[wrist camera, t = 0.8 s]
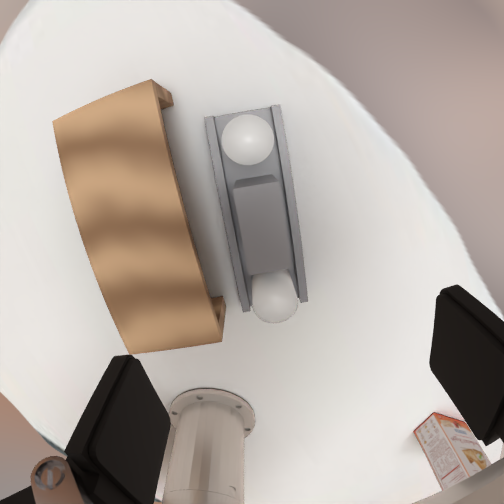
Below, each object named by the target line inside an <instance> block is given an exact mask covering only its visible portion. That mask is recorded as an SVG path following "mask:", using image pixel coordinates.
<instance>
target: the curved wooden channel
mask: <svg viewBox="0 0 504 504" xmlns="http://www.w3.org/2000/svg"><path fill="white" fill-rule="evenodd" d="M170 106H174V104H173V99H172V95H171V93H170V92H169V91H167V90H166V89H165V88H163V87H162V86H160V85H159V84H157V83H156V82H155V81H153V80H152V79H150V80H147V81H144V82H141V83H139V84H136V85H133V86H131V87H128V88H125V89H123V90H120V91H118V92H115V93H113V94H110V95H108V96H105V97H103V98H101V99H98V100H96V101H94V102H91V103H89V104H87V105H85V106H83V107H80V108H78V109H76V110H74V111H72V112H70V113H68V114H66V115H64V116H62V117H60V118H58V119H56V120H54V121H52V122H53V127H54V133H55V138H56V143H57V148H58V153H59V158H60V162H61V166H62V171H63V175H64V179H65V183H66V187H67V190H68V194H69V198H70V201H71V205H72V208H73V212H74V215H75V219H76V222H77V225H78V228H79V231H80V235H81V238H82V241H83V244H84V247H85V249H86V252H87V255H88V258H89V261H90V264H91V266H92V269H93V272H94V274H95V277H96V280H97V282H98V285H99V287H100V290H101V292H102V295H103V297H104V300H105V302H106V304H107V307H108V309H109V311H110V314H111V316H112V318H113V320H114V323H115V325H116V327H117V329H118V331H119V334H120V336H121V338H122V340H123V342H124V344H125V346H126V348H127V350H128V352H129V354H139V353H147V352H155V351H163V350H171V349H178V348H185V347H192V346H198V345H205V344H211V343H217V342H222V337H223V328H224V320H225V311H226V305H225V301H224V298H223V296H220V297H215V298H210V295H209V291H208V288H207V285H206V281H205V278H204V275H203V271H202V268H201V265H200V261H199V258H198V254H197V251H196V247H195V244H194V240H193V237H192V233H191V229H190V226H189V222H188V219H187V215H186V211H185V207H184V204H183V200H182V196H181V192H180V188H179V185H178V181H177V177H176V173H175V169H174V165H173V161H172V157H171V152H170V148H169V144H168V140H167V136H166V131H165V127H164V123H163V118H162V114H161V109H164V108H167V107H170Z"/></svg>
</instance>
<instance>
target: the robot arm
mask: <svg viewBox="0 0 504 504" xmlns="http://www.w3.org/2000/svg"><path fill="white" fill-rule="evenodd" d="M429 363H430V368H431V371H432V372H433V374H434V375H435V377H436V378H437V379H438V381H439V382H440V384H441V385H442V387H443V388H444V390H445V391H446V392H447V394H448V395H449V397H450V398H451V400H452V401H453V403H454V404H455V406H456V407H457V409H458V410H459V412H460V413H461V415H462V416H463V418H464V420H465V421H466V423H467V424H468V426H469V427H470V429H471V430H472V432H473V434H474V435H475V437H476V438H477V439H478V440H482V441H483V442H484V444H485V446H487V445H489V444H491V443H492V442H494V441H496V440H497V439H499V438H501V440H502V441H503V446H502V451H501V456H500V460H498V461H497V462H495V463H493V464H492V465H490V466H488V467H487V468H485V469H483V470H481V471H480V472H478V473H476V474H474V475H473V476H471V477H469V478H467V479H465V480H463V481H461V482H459V483H457V484H455V485H453V486H451V487H449V488H447V489H445V490H443V491H441V492H438V493H436V494H434V495H432V496H429V497H427V498H425V499H422V500H420V501H417V502H415V503H412V504H504V321H502V320H501V319H500V318H499V317H498V316H497V315H495V314H494V313H493V312H492V311H491V310H489V309H488V308H487V307H486V306H485V305H483V304H482V303H481V302H480V301H478V300H477V299H476V298H475V297H473V296H472V295H471V294H470V293H468V292H467V291H466V290H465V289H463V288H462V287H461V286H459V285H454V286H451V287H447V288H444V289H442V290H441V292H440V295H438V296H437V298H436V308H435V320H434V330H433V338H432V346H431V354H430V361H429ZM171 423H172V425H173V427H174V428H175V429H176V434H175V439H174V444H173V449H172V453H171V458H170V463H169V468H168V473H167V479H166V484H165V490H164V494H163V500H162V504H244V438H246V437H247V436H248V435H249V434H250V433H251V432H252V430H253V428H254V425H255V415H254V412H253V410H252V408H251V407H250V405H249V404H248V403H246V402H245V401H244V400H243V399H241V398H240V397H238V396H236V395H234V394H231V393H228V392H225V391H221V390H215V389H197V390H192V391H188V392H186V393H183V394H181V395H180V396H178V397H177V398H176V399H175V400H174V401H173V403H172V405H171V407H170V411H169V414H168V413H167V411H166V409H165V407H164V406H163V404H162V402H161V400H160V399H159V397H158V395H157V393H156V391H155V389H154V388H153V386H152V384H151V382H150V380H149V378H148V376H147V374H146V372H145V370H144V368H143V366H142V364H141V362H140V361H139V360H138V359H135V358H134V357H133V356H132V355H121V356H114V357H113V358H112V360H111V362H110V364H109V365H108V367H107V369H106V371H105V373H104V375H103V376H102V378H101V380H100V382H99V384H98V386H97V388H96V389H95V391H94V393H93V395H92V397H91V399H90V401H89V403H88V405H87V407H86V409H85V410H84V412H83V414H82V416H81V418H80V420H79V422H78V424H77V426H76V428H75V430H74V432H73V434H72V436H71V439H70V441H69V443H68V445H67V447H66V449H65V451H64V452H65V453H66V454H67V455H68V456H67V459H66V460H65V459H64V458H62V457H59V456H50V457H46V458H45V459H43V460H41V461H39V462H38V464H37V465H36V466H35V467H34V469H33V471H32V473H31V486H29V487H27V488H25V489H23V490H21V491H19V492H17V493H15V494H13V495H11V496H9V497H7V498H5V499H3V500H1V501H0V504H153V503H154V499H155V494H156V489H157V484H158V479H159V475H160V470H161V465H162V461H163V456H164V452H165V447H166V443H167V439H168V434H169V430H170V425H171Z"/></svg>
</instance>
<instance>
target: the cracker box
mask: <svg viewBox="0 0 504 504" xmlns="http://www.w3.org/2000/svg"><path fill="white" fill-rule="evenodd" d="M414 433H415V435H416V437H417V439H418V441H419V443H420V445H421V447H422V449H423V451H424V453H425V455H426V457H427V460H428V462H429V464H430V466H431V468H432V470H433V472H434V474H435V476H436V479H437V481H438V483H439V485H440V487H441V489H442V491H443V490H445V489H447V488H449V487H451V486H453V485H455V484H457V483H459V482H461V481H463V480H465V479H467V478H469V477H471V476H473V475H474V474H476V473H478V472H480V471H481V470H483V469H485V468H487V467H488V466H490V465H492V464H491V462H490V461H489V459H488V457H487V456H486V454H485V453H484V451H483V449H482V448H481V446H480V445H479V443H478V441H477V440H476V438H475V437H474V435H473V434H472V432H471V431H470V429H469V427H468V426H467V424H466V423H465V422H462V421H459V420H456V419H452V418H449V417H446V416H443V415H440V414H437V413H433V414H432V415H431V416H430V417H429V418H428V419H427V420H425V421H424V422H423V423H422V424H421V425H420V426H419V427H418V428H417V429H416V430H415V431H414Z"/></svg>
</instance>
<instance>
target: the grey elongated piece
mask: <svg viewBox="0 0 504 504" xmlns="http://www.w3.org/2000/svg"><path fill="white" fill-rule="evenodd" d="M204 118H205V124H206V129H207V135H208V140H209V145H210V151H211V156H212V161H213V167H214V172H215V177H216V183H217V188H218V193H219V198H220V203H221V208H222V213H223V218H224V223H225V229H226V233H227V238H228V243H229V248H230V253H231V258H232V263H233V268H234V273H235V278H236V282H237V287H238V292H239V297H240V301H241V306H242V311H243V312H248V311H250V306H252V305H253V310H254V312H255V314H256V315H257V316H258V317H259V318H260V319H261V320H263V321H265V322H269V323H280V322H283V321H286V320H287V319H289V318H290V317H291V316H292V315H293V314H294V313H295V311H296V309H297V306H298V298H299V299H300V302H301V303H302V302H307V301H308V296H307V287H306V278H305V269H304V260H303V252H302V244H301V236H300V229H299V221H298V214H297V207H296V200H295V193H294V186H293V179H292V173H291V167H290V160H289V154H288V148H287V142H286V136H285V130H284V124H283V119H282V113H281V108H280V105H274V106H271V107H270V108H264V109H257V110H251V111H245V112H239V113H233V114H228V115H222V116H217V117H214V116H209V117H204Z"/></svg>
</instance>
